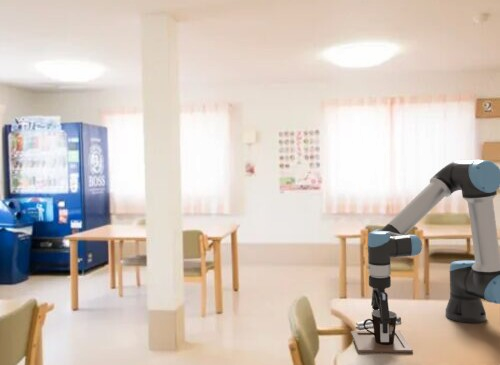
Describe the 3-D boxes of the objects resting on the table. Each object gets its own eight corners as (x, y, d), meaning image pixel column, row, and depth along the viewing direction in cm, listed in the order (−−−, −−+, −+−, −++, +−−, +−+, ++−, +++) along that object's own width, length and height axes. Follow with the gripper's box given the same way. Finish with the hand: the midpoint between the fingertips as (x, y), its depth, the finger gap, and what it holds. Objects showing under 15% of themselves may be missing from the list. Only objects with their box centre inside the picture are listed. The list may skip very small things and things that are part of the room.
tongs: (396, 319, 195) (396, 315, 194) (403, 323, 190) (403, 318, 190) (353, 324, 189) (353, 320, 189) (360, 329, 184) (359, 324, 184)
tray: (399, 334, 179) (399, 330, 178) (412, 353, 161) (412, 350, 161) (350, 333, 180) (350, 330, 180) (358, 353, 162) (358, 349, 162)
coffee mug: (395, 337, 173) (395, 310, 173) (398, 347, 165) (398, 318, 164) (362, 336, 176) (362, 309, 175) (363, 345, 167) (363, 317, 167)
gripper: (362, 267, 182) (363, 322, 183) (375, 284, 157) (376, 348, 158) (382, 267, 181) (383, 322, 182) (398, 284, 156) (400, 348, 157)
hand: (380, 334), depth 170 cm, fingers open, 13 cm apart
